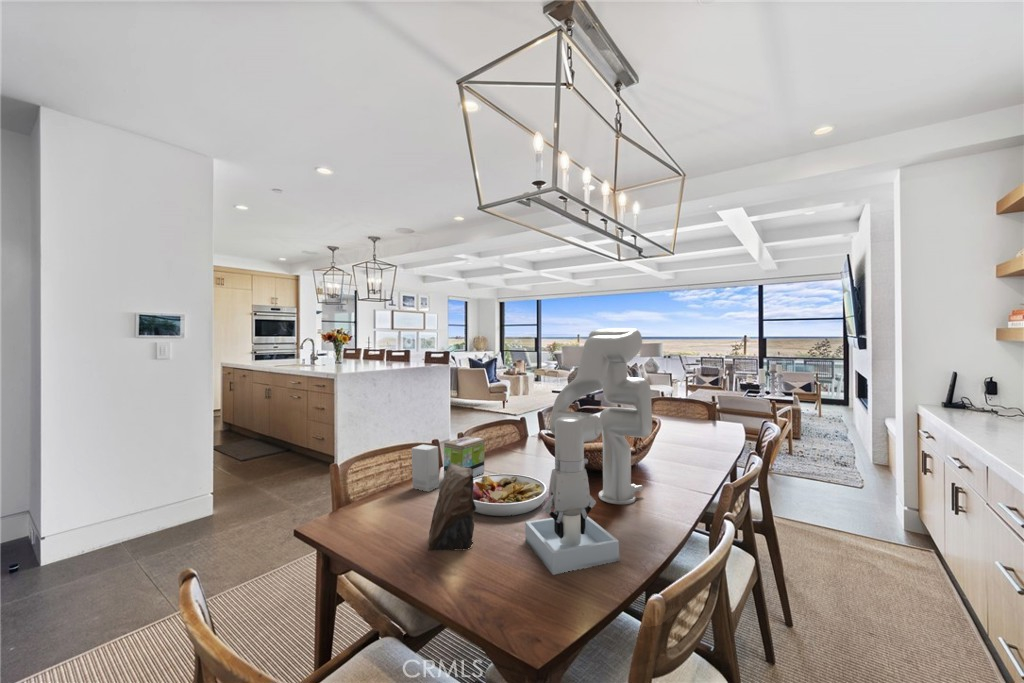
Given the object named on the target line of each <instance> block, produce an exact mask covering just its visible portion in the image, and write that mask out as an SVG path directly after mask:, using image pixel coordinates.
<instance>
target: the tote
mask: <svg viewBox="0 0 1024 683" xmlns="http://www.w3.org/2000/svg"><path fill="white" fill-rule="evenodd" d="M524 527H525V542H526V543H527V544H528V545H529V547H530V548H531V549H532V550H533V552H534V553H535V554H536V556H537V557H538V558H539V559H540V560H541V562H542V564H544V566H545V567H546V569H547V570H548V571H549V572H550V573H551V575H553V576H554V575H559V574H563V573H564V572H565V573H569V572H568V571H570V572H573V571H572V570H574V571H578V570H577V569H579V570H583V569H582V568H584V569H589V568H592V566H594V567H598V565H599V566H603V565H602V564H604V565H607V564H606V563H608V564H612V562H613V563H617V562H616V561H618V562H620V540H618V539H617V538H616V537H615V536H614V535H612V534H611V533H609V531H607V530H606V529H604V528H603V527H602V526H601V525H599V523H597V522H596V521H594V520H593V519H592V518H591V517H589V516H588V515H587V518H586V519H585V534H581V543H580V544H579V545H577V546H565V545H563V544H561V543H560V537H559V536H558V535H557V534H556V533H555V530H554V519H553V518H552V517H549V518H548V517H547V518H542V519H536V520H529V521H525V526H524ZM610 562H611V563H610ZM588 567H589V568H588Z"/></svg>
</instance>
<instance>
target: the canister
mask: <svg viewBox="0 0 1024 683" xmlns="http://www.w3.org/2000/svg"><path fill="white" fill-rule="evenodd" d="M561 522H562V523H563V538H560V543H561V544H563V545H565V546H577V545H579V544H580V543H581V508H580V509H573V510H567V511H563V516H562V519H561Z"/></svg>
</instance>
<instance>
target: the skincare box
mask: <svg viewBox="0 0 1024 683" xmlns="http://www.w3.org/2000/svg"><path fill="white" fill-rule="evenodd" d="M439 463H440V462H439V446H437V445H436V446H435V445H430V444H419V445H417V446H414V447H411V470H412V472H411V473H412V489H413V488H415V489H414V490H417V489H419V491H422V490H423V491H424V492H426V491H427V492H426V493H429V492H431V490H432V491H434V490H436V489H439V488H440V469H439V468H440V467H439ZM435 488H436V489H435ZM433 489H434V490H433Z"/></svg>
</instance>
